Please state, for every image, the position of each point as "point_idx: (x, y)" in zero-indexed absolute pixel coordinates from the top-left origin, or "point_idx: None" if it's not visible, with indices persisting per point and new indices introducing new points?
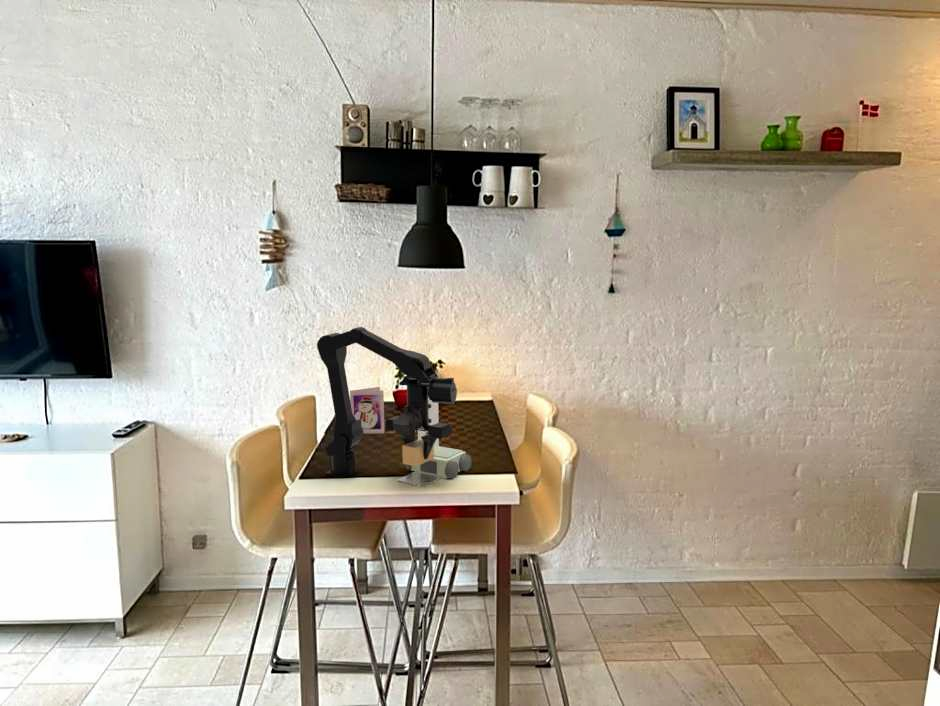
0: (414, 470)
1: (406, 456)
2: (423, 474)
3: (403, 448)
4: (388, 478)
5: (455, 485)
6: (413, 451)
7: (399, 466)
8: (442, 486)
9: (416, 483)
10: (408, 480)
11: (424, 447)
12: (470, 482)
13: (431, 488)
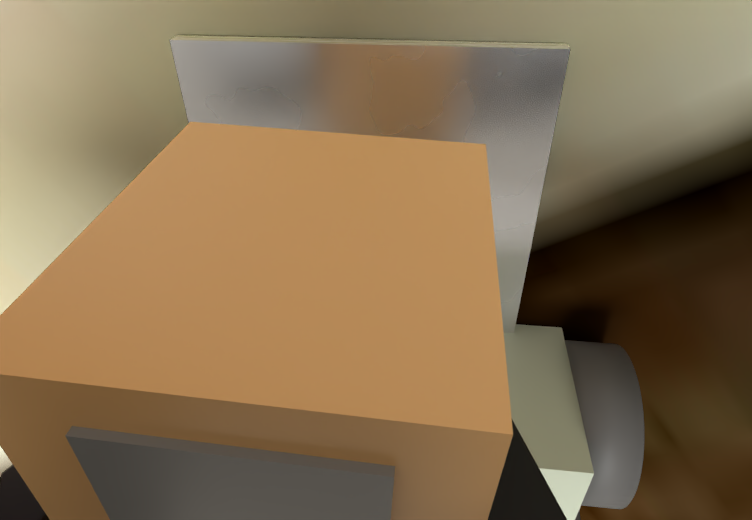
0: (527, 336)
1: (375, 215)
2: None
3: (465, 357)
4: (724, 77)
5: (18, 211)
6: (95, 294)
7: (733, 386)
8: (68, 142)
9: (284, 53)
10: (429, 96)
11: (30, 501)
12: (6, 304)
13: (92, 40)
